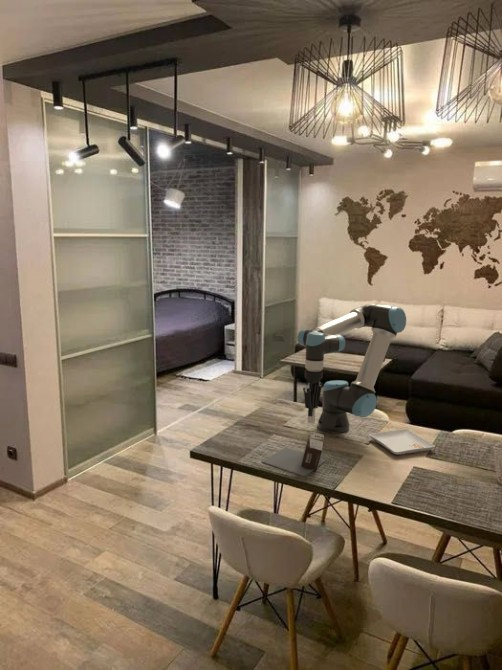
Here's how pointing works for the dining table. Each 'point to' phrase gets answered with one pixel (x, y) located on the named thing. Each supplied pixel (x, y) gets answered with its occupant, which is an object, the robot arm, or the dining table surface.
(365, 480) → the dining table surface
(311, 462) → the coffee box
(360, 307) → the robot arm
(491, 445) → the dining table surface
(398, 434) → the salad plate
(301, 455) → the mat
